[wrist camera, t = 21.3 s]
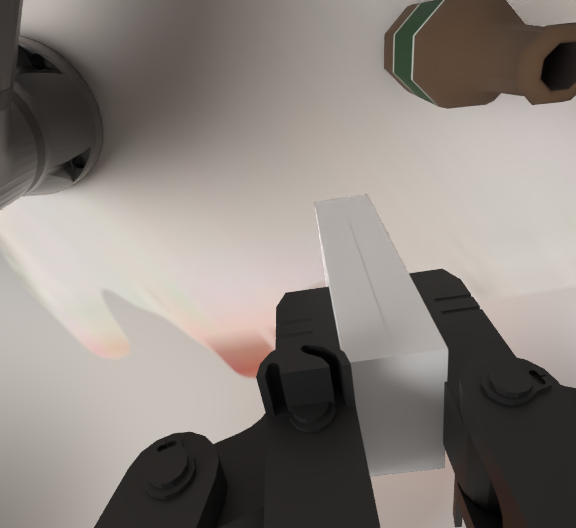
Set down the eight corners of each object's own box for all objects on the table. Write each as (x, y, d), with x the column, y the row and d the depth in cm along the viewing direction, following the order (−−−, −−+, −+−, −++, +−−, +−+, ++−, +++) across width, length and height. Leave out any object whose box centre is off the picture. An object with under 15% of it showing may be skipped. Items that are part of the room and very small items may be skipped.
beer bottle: (446, -18, 38) (647, -76, 17) (470, 65, 42) (663, 103, 21) (366, 28, 40) (461, 27, 19) (396, 105, 43) (504, 176, 22)
